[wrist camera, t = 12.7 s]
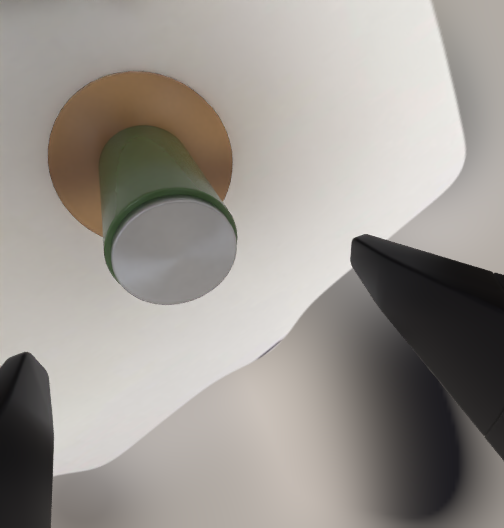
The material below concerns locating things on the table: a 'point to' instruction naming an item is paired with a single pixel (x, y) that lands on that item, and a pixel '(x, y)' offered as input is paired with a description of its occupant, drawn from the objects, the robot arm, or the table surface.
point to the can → (162, 218)
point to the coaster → (124, 116)
